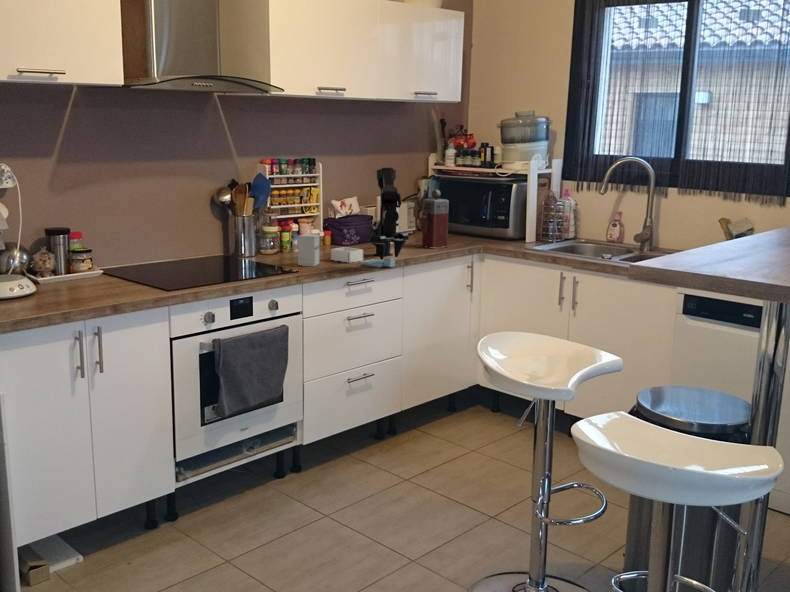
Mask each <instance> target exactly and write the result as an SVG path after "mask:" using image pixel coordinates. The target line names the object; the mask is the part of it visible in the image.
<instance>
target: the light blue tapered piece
mask: <svg viewBox="0 0 790 592" xmlns="http://www.w3.org/2000/svg"><path fill="white" fill-rule="evenodd" d="M359 264H362V265H363V266H366V267H372V268H378V269H379V268H385V267H389V268H390V267H395V266H396V257H389V256H387V257H384V258H383V260H381V259H380V258H379V259H376V258H375V259H374V258H372V259H368V260H363V261H360V262H359Z"/></svg>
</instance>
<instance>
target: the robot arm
mask: <svg viewBox="0 0 790 592" xmlns="http://www.w3.org/2000/svg"><path fill="white" fill-rule="evenodd" d="M375 180H376V182H377V186H378V187H379V189H380V197H379V198H380V199H379V200H380V201H379V203H380V205H379V219H378V221H377V222H376V223H375V225H373V226H372V225H371V226H369V229H368V232H369V234H370V236H369V243H371V245H374V246H375V253H373V256H378V257H379V259H380V260H382V261H384V258H385V257H389V256H393V255H394V258H398V256H399V255H400V252H401V251H402V249H403V246H404V245H405V243H407V240H408V241H409V236H410V235H409V233H407V232H403V231H397V227H399V225H400V224H399V223H397V222H398V220H399V219H400V218H399V217H400V215H399V212H398V211H397V208H399V209H400V208H401V206H402V198H401V197H402V196H401V193H399V192H398V187H396V186H395V185H394V183H395V181H396V180H397V170H396V169H394V168H392V167H385V166H384V167H381V168H380V169H377V170H376V172H375ZM391 243H392V244H393V247H394V250H393V252H394V254H393V253H391ZM388 255H389V256H388Z"/></svg>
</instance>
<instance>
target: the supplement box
mask: <svg viewBox="0 0 790 592" xmlns="http://www.w3.org/2000/svg"><path fill="white" fill-rule="evenodd" d="M297 238H298V239H297V245H298V246H297V266H298V265H300V266H301V265H302V267H316V266H317V265H319V264H320V234H313V233H311V234H310V233H302V234H300V235H298V236H297Z"/></svg>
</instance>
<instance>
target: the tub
mask: <svg viewBox="0 0 790 592" xmlns="http://www.w3.org/2000/svg"><path fill="white" fill-rule="evenodd" d="M331 260H334V261H333V262H337V261H341V262H340V263H343V262H347V263H346V264H353V263H352V262H354V263H360V262H359V261H364V249H361V248H354V247H347V246H343V247H342V246H341V247H336V248H330V261H331Z"/></svg>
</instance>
